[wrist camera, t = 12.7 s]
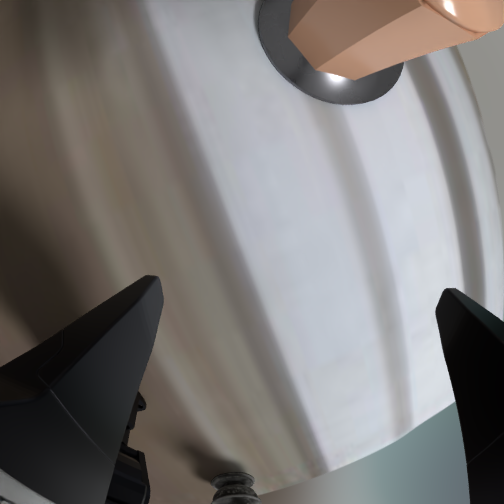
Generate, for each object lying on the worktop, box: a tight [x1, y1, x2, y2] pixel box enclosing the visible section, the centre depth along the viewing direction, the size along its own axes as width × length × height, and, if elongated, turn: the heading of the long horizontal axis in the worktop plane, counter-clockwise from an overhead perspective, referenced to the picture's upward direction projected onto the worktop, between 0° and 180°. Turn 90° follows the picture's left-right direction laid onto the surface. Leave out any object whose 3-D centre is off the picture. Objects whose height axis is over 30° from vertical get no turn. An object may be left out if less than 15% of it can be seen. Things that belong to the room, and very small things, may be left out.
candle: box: [258, 0, 404, 105], centre depth 15 cm, size 11×11×5 cm
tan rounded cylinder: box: [288, 0, 504, 80], centre depth 11 cm, size 7×7×12 cm
